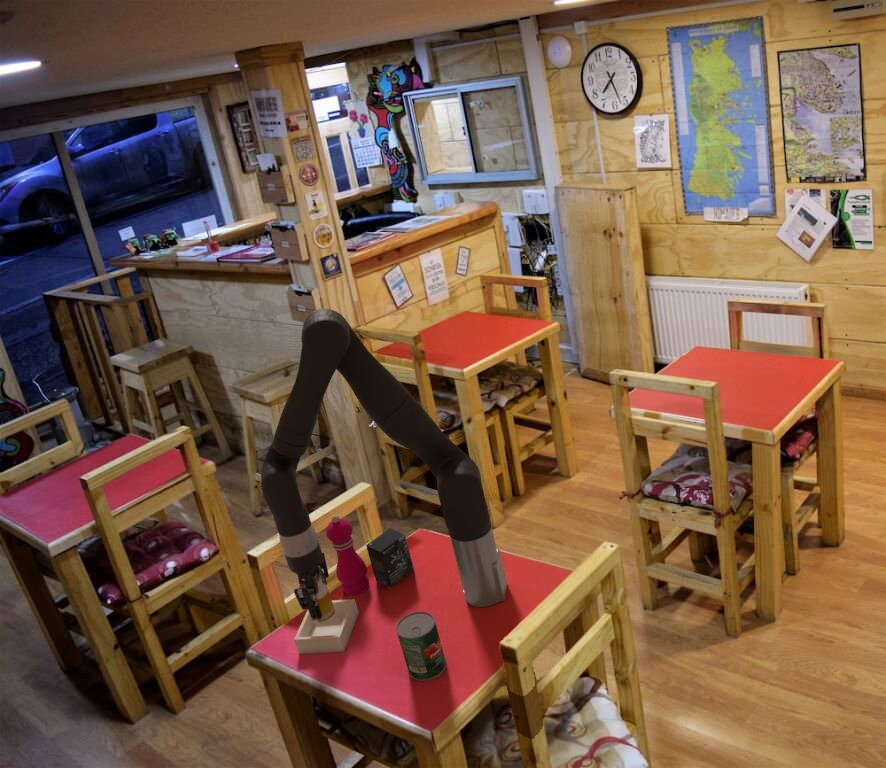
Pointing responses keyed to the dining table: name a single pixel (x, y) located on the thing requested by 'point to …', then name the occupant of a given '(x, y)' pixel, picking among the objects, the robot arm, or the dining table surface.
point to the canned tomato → (421, 645)
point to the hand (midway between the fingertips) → (321, 608)
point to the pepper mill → (347, 557)
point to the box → (390, 557)
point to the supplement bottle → (323, 603)
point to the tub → (328, 630)
